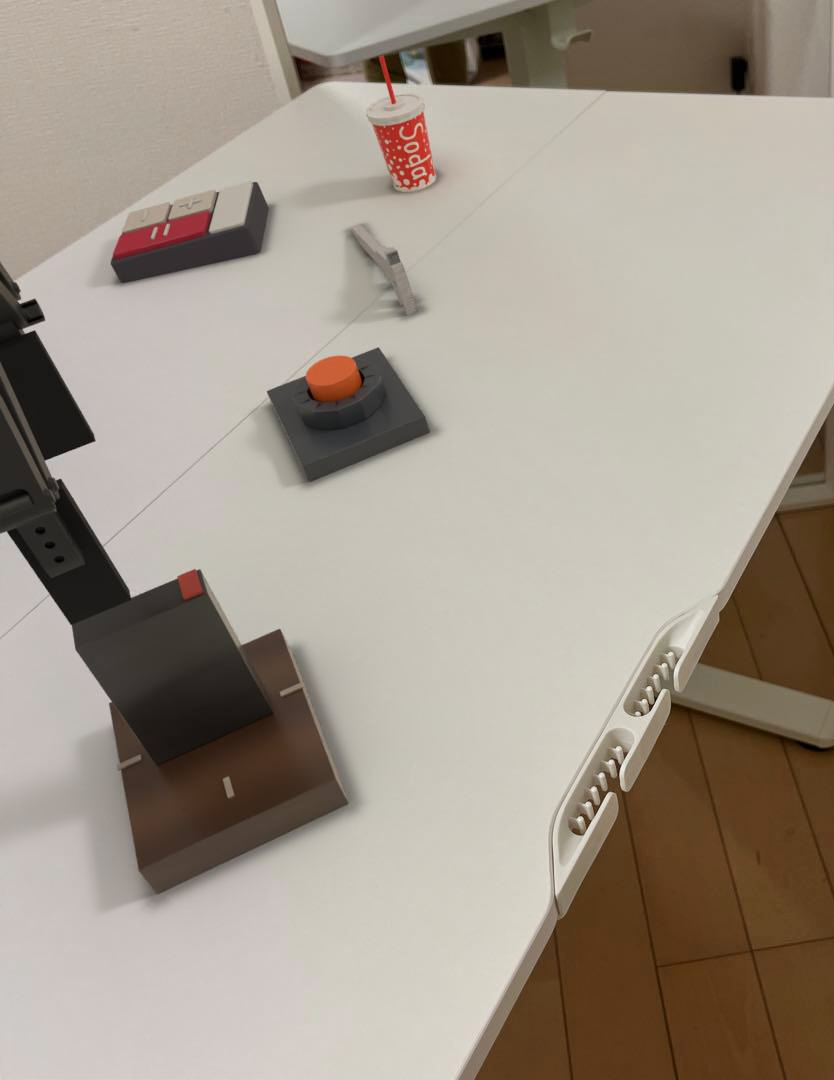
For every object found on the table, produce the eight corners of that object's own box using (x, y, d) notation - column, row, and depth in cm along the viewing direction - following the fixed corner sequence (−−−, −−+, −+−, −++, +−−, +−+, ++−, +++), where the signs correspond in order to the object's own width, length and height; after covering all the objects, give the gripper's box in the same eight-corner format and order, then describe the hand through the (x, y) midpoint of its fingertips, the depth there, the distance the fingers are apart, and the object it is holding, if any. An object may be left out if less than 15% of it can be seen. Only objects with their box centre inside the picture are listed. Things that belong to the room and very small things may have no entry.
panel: (127, 732, 69) (105, 700, 67) (296, 657, 71) (280, 624, 69) (160, 901, 59) (135, 870, 57) (354, 809, 61) (336, 776, 59)
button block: (275, 412, 92) (258, 372, 90) (385, 368, 94) (372, 328, 91) (311, 488, 84) (294, 447, 81) (432, 438, 86) (419, 396, 83)
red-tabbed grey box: (156, 765, 62) (72, 646, 55) (150, 738, 64) (68, 619, 57) (273, 713, 64) (206, 590, 57) (265, 687, 65) (198, 565, 58)
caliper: (420, 317, 99) (402, 255, 95) (409, 321, 99) (390, 259, 95) (361, 232, 114) (343, 175, 110) (351, 235, 114) (333, 178, 110)
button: (306, 385, 88) (299, 367, 86) (353, 367, 88) (347, 349, 87) (320, 410, 85) (312, 391, 83) (368, 390, 85) (361, 372, 84)
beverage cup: (393, 205, 117) (354, 73, 108) (385, 183, 122) (348, 54, 113) (448, 190, 118) (415, 57, 108) (438, 168, 122) (406, 38, 113)
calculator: (124, 209, 120) (255, 173, 119) (143, 244, 123) (270, 210, 122) (104, 257, 112) (245, 219, 111) (125, 293, 115) (262, 257, 114)
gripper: (-80, 160, 31) (206, 656, 45) (-82, -27, 48) (124, 371, 63) (-367, 253, 29) (24, 734, 43) (-259, 25, 47) (-7, 420, 61)
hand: (84, 520), depth 53 cm, fingers open, 13 cm apart
